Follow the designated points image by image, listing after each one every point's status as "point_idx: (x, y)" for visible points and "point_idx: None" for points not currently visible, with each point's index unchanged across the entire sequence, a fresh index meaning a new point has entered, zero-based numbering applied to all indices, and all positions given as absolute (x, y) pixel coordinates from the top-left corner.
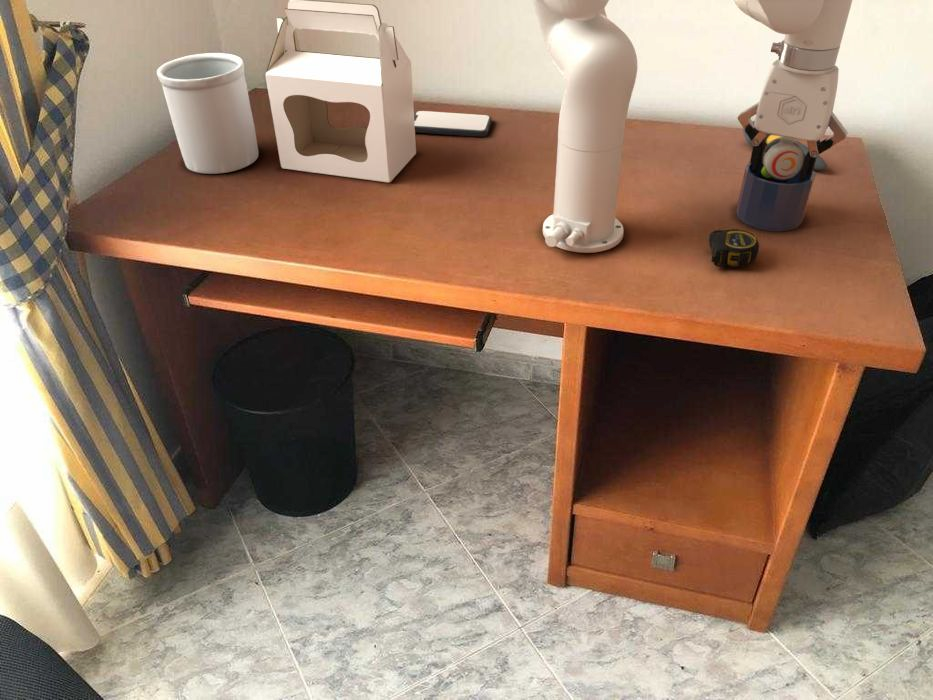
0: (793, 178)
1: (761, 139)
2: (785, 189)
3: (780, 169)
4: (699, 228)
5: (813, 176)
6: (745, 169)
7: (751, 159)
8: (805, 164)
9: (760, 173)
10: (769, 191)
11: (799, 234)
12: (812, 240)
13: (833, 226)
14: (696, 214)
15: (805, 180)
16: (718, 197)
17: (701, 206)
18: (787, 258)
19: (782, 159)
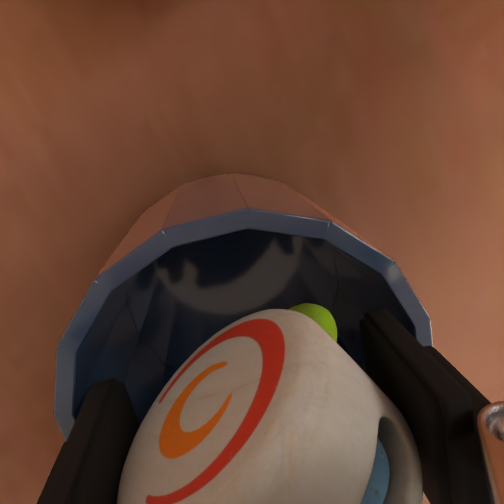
0: None
1: (502, 467)
2: (130, 246)
3: (227, 356)
4: (390, 19)
5: None
6: (417, 302)
7: (433, 353)
8: (74, 453)
9: None
10: (209, 205)
11: (86, 241)
12: (27, 232)
13: (37, 368)
14: (443, 121)
15: None
16: (428, 291)
17: (451, 192)
18: (6, 27)
19: (234, 400)
